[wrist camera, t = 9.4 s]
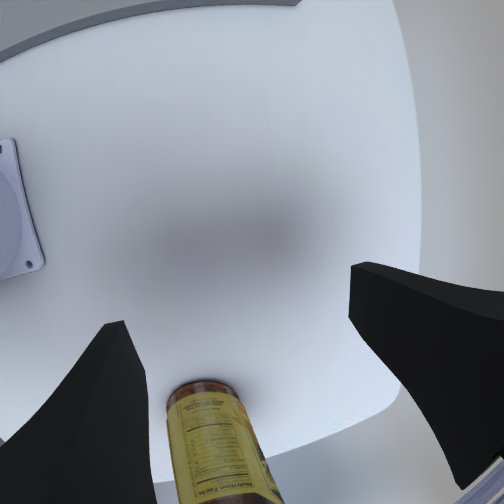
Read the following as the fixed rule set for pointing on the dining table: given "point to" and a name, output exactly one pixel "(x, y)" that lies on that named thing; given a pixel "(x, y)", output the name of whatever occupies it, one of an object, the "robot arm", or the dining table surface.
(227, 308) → the dining table surface
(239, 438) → the sauce bottle
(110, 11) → the post board
